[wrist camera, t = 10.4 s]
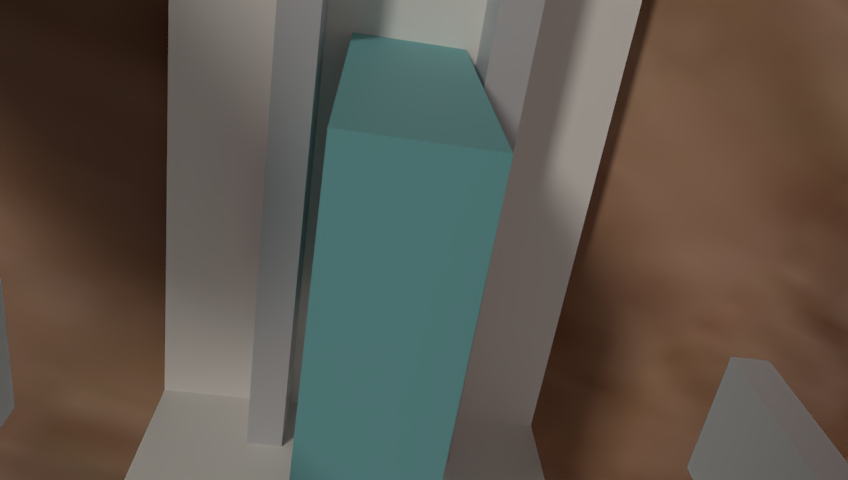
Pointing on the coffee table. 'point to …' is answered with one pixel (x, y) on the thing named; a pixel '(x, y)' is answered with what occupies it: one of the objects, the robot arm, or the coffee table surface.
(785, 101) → the coffee table surface
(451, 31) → the track
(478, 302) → the teal sliding block
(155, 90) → the coffee table surface
